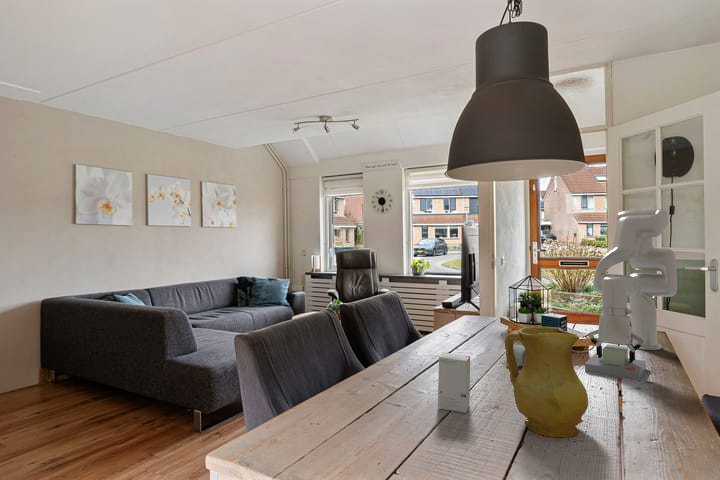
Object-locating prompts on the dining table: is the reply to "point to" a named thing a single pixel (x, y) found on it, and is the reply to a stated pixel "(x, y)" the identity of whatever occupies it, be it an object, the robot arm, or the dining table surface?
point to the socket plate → (616, 368)
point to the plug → (615, 355)
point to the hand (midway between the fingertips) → (615, 359)
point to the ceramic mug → (519, 355)
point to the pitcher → (547, 381)
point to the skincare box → (454, 382)
